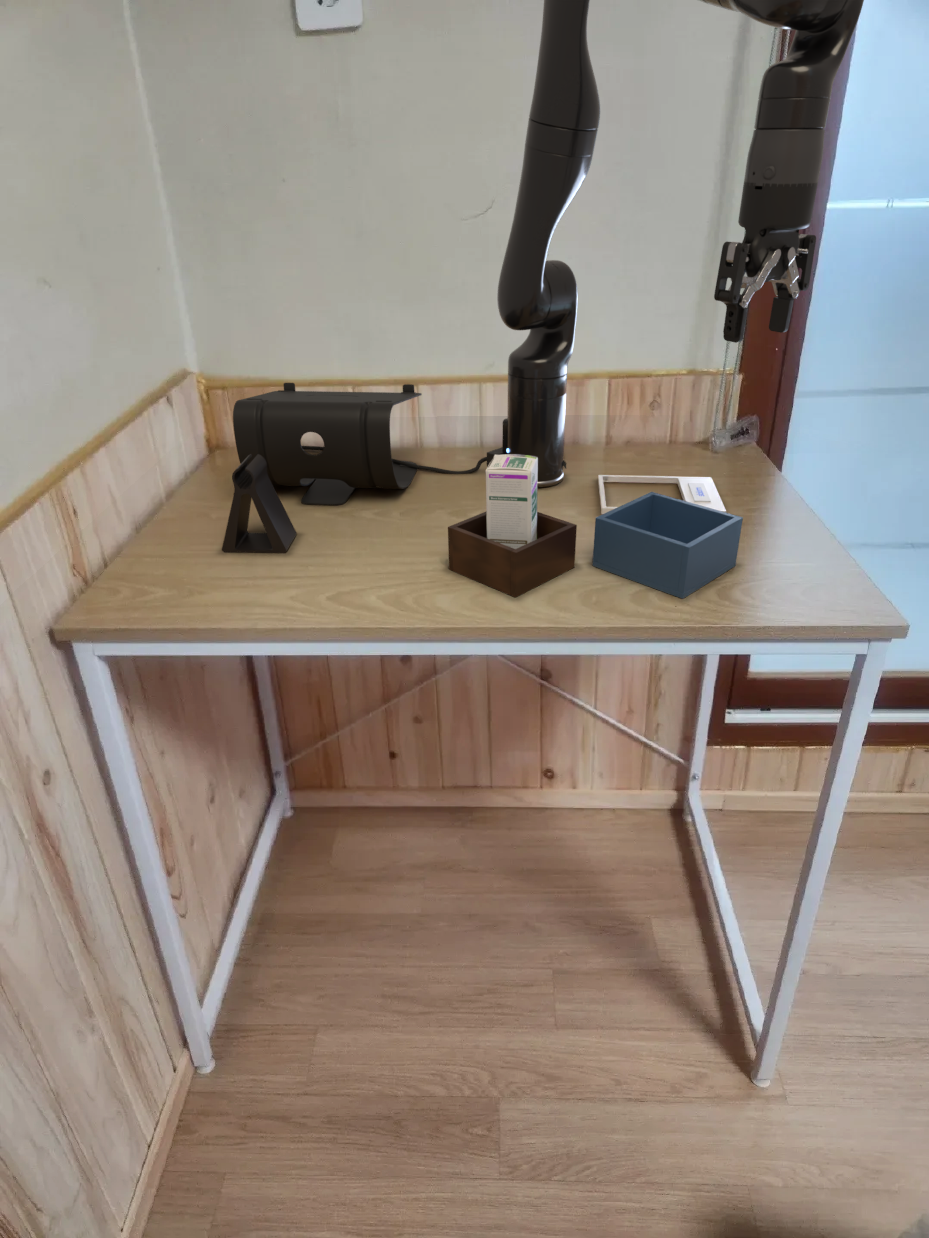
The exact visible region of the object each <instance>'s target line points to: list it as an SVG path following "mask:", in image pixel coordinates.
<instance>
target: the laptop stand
mask: <svg viewBox="0 0 929 1238" xmlns="http://www.w3.org/2000/svg"><path fill="white" fill-rule="evenodd" d="M421 396H422V393H421V392H416V391H415V385H414V384H413V383H412V384H411V383H407V384H406V383H404V384H403V385H402V391H401V392H385V391H384V392H383V391H382V392H379V391H378V392H377V391H323V390H322V391H319V390H318V391H317V390H315V391H314V390H313V391H311V390H310V391H309V390H307V391H306V390H296V384H295V382H284V383H283V390H280V389H278V390H274V391H273V390H272V391H270V392H266V393H262V394H257V395H253V396H250V397H246V398H242V399H238V400H236V401H235V403H234V406H233V411H232V424H233V426H232V427H233V433H234V440H235V446H236V452H237V455H238V462H239V465H240V464H241V463H242V462H243V461H244V460H245V459H246V458H247V456H248V455H250V454H252V457H251V458H250V459H249V460H248V461H247V465H249V464H250V463H251V461H252V460H253V459H254V458H255V457H256V456H257V454H259V455H261V456H262V457H263V458H264V459H265V460H266V463H267V474H268V477H269V479H270V481H271V483H272V485H273V486H284V487H308V486H310V487H309V488H308V489H307V491H306V492H305V493H304V495H303V496H302V497H301V499H300V502H301V504H303V505H306V506H342V505H344V504H346V503H347V502H348V500H349V499H350V497H351V496H352V495H353V493H354V492H355V491H356V489H357V488H358V489H360V488H361V489H377V488H379V489H387V490H388V489H389V490H390V489H391V490H405V489H406V488H408V487H409V486H410V485H411V484H412V482H413V480H414V477H415V476H416V474H417V471H418V469H415V468H411V467H408V466H405V465H402V464H396V463H392V459H393V457H392V443H391V413H392V410H393V407H394V406H396V405H398V404H402V403H404V402H406V401H409V400H412V399H415V398H418V397H421ZM307 433H315V434H317V435H319V436H320V438H321V439H322V442H323V447H324V449H323V451H321V452H319V453H318V454H311V453H308V451H306V450H303V448H302V446H303V445H302V439H303V436H304V435H305V434H307ZM402 461H403V462H407V463H410V464H415V465H418V464H417V463H416V462H413V461H408V460H402Z"/></svg>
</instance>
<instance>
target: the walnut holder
mask: <svg viewBox="0 0 929 1238" xmlns="http://www.w3.org/2000/svg"><path fill="white" fill-rule="evenodd" d="M486 522H487V521H486V511H484V512H482V513H479V514H477V515H474V516H472V517H469V518H467V519H464V520H462V521H459V522H456V523H454V524H452V525H449V526H447V545H448V546H447V547H448V548H447V549H448V570H449V571H452V572H454V573H457V574H459V575H461V576H463V577H466V578H468V579H471V580H473V581H475V582H478V583H480V584H483V585H484V586H487V587H490V588H492V589H494V590H497V591H499V592H501V593H504V594H506V595H509V596H511V597H513V598H517V597H519V596H521V595H523V594H525V593H527V592H529V591H531V590H533V589H535V588H536V587H538V586H541V585H543V584H545V583H547V582H549V581H551V580H552V579H554V578H556V577H558V576H561V575H562V574H564V573H566V572H568V571H570V570H572V569H574V568H575V566H576V565H575V564H576V547H577V546H576V544H577V527H578V525H577V524H575V523H572V522H569V521H566V520H564V519H560V518H557V517H554V516H551V515H548V514H545V513H542V512H539V511H537V540H534V541H532V542H530V543H528V544H526V545H523V546H521V547H519V548H517V549H514V548H511V547H509V546H506V545H503V544H501V543H498V542H495V541H493V540H490V539H487V525H486Z"/></svg>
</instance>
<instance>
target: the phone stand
mask: <svg viewBox="0 0 929 1238" xmlns="http://www.w3.org/2000/svg"><path fill="white" fill-rule="evenodd" d="M251 457H252V454H250V455H248V456H247V458H246V459H245V460H244V461H243V462H242V463H241V464H240V463H239V465H238V466H237V467H236V469H235V470H234V471H233V473H232V475H231V479H232V484H233V489H234V490H233V491H234V492H233V497H232V501H231V507H230V510H229V515H228V520H227V522H226V528H225V533H224V538H223V543H222V547H221V551H222V552H223V553H240V554H241V553H244V554H245V553H248V554H249V553H254V552H255V553H256V554H285V553H287V551H288V550H289V548H290V546H291V544H292V543H293V541H294V540H295V538H296V536H297V535H298V533H297V531H296V529H295V526H294V525H293V523H292V521H291V518H290V516H289V515H288V513H287V511H286V509H285V507H284V505H283V503H282V501H281V499H280V496H279V495H278V493H277V491H276V488H275V487H274V485H272V483H271V481H270V479H269V477H268V474H267V463H266V460H265V459H264V458H263V457H262V456H261V455H259V454H257V456H256V457H255V458H254V459H253V460H252V461H251V463H250V464H249V465H247V461H248V460H249V459H250V458H251ZM252 501H253V504H254V507H255V509H256V512H257V514H258V517H259V519H260V522H261V523H262V526H263V528H264V531H265V532H249V531H248V528H249V522H250V514H251V513H250V512H251V505H252Z"/></svg>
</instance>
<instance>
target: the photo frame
mask: <svg viewBox="0 0 929 1238" xmlns="http://www.w3.org/2000/svg"><path fill="white" fill-rule="evenodd" d="M605 483H643V484H644V483H646V484H648V483H650V484H677V486H678V489H679V492H680V495H681V500H683V501H687V502H690V503H694V504H697V505H701V506H704V507H708V508H711V509H715V510H718V511H722V512H726V513H727V509H726V507H725V505H724V503H723V500H722V497H721V496H720V494H719V491H718V489H717V487H716V484H715V482H714V480H713V478H712V476H672V475H671V476H670V475H669V476H668V475H626V474H625V475H624V474H623V475H622V474H620V475H619V474H598V475H597V484H598V485H597V487H598V495H599V505H600V514H601V515H602V514H605V513H607V512H609V511H611V510H613V509H615V508H617V507H618V506H607V501H606V493H605V485H604V484H605Z"/></svg>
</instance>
